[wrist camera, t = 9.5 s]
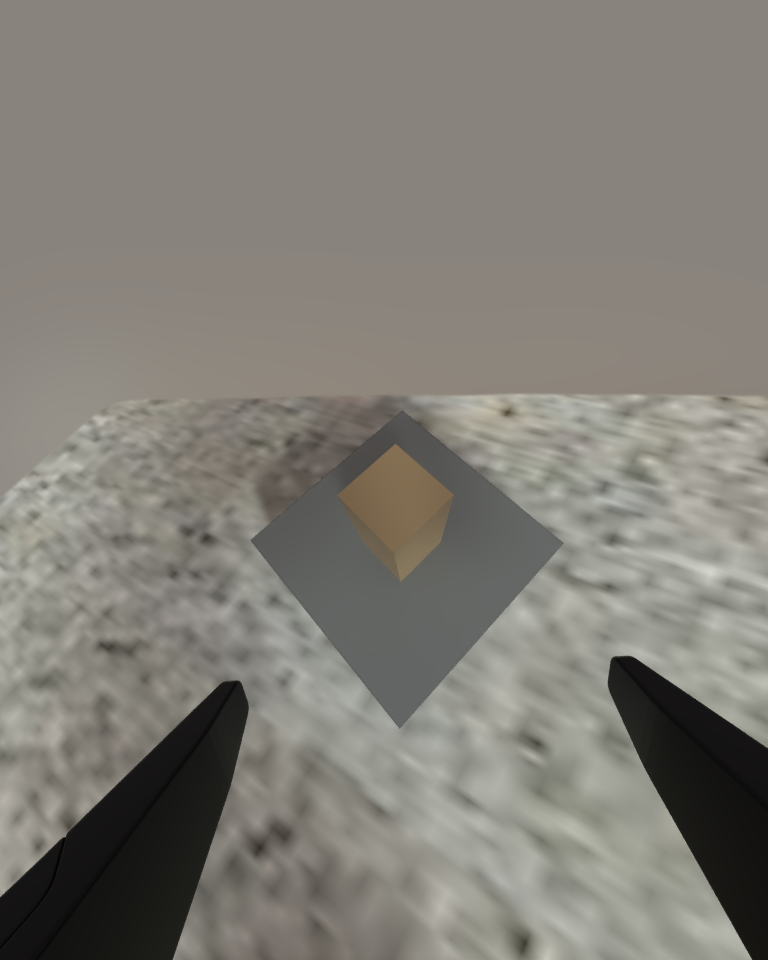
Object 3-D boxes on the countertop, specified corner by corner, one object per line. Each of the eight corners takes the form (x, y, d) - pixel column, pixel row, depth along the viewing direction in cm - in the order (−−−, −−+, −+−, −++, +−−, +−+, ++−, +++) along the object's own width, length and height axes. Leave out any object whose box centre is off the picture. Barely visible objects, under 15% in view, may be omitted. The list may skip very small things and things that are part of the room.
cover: (402, 709, 20) (389, 792, 9) (277, 556, 24) (172, 495, 14) (537, 559, 23) (642, 494, 12) (404, 444, 27) (397, 322, 16)
